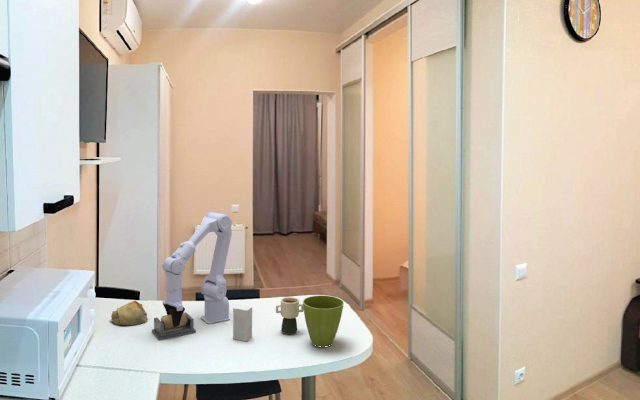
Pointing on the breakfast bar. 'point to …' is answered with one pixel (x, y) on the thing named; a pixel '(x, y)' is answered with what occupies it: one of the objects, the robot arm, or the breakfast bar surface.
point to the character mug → (289, 314)
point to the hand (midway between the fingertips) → (173, 323)
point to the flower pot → (322, 318)
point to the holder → (173, 329)
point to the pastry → (130, 314)
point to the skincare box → (242, 322)
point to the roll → (169, 324)
